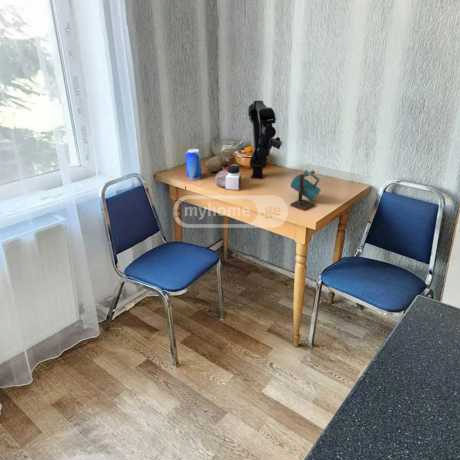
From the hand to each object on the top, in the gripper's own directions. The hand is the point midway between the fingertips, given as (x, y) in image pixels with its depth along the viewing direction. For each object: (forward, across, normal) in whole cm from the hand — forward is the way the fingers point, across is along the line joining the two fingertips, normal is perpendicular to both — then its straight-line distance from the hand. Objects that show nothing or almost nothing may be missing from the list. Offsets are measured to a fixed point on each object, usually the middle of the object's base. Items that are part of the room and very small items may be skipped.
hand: (264, 163), depth 205 cm
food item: (+13, 0, +20) cm, 24 cm away
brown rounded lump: (+13, +25, +31) cm, 42 cm away
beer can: (+13, +7, +40) cm, 43 cm away
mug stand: (+13, -19, -23) cm, 32 cm away
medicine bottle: (+13, -4, +14) cm, 19 cm away
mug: (+8, -17, -28) cm, 34 cm away
